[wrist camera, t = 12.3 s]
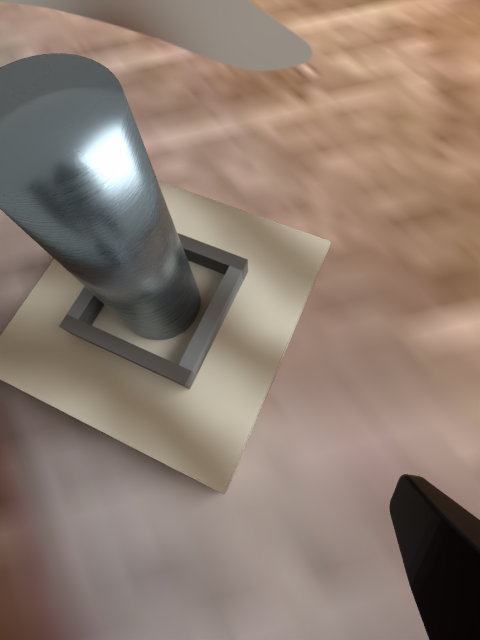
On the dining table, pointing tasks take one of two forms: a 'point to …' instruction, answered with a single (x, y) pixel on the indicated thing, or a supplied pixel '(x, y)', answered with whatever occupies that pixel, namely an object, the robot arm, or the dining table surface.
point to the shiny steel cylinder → (92, 191)
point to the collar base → (174, 342)
